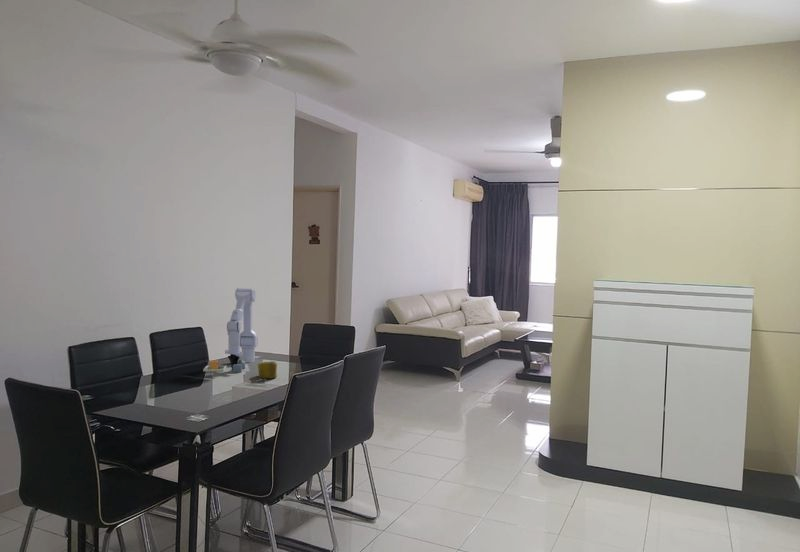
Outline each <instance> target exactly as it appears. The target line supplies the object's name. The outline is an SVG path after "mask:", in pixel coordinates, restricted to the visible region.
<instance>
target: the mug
mask: <svg viewBox="0 0 800 552" xmlns="http://www.w3.org/2000/svg"><path fill="white" fill-rule="evenodd" d="M257 368H258V369H257V371H258V376H259V378H261V380H264V379H265V380H266V379H267V380H268V379H276V378H277V370H278V362H277V361H263V362H262V361H261V362H258V363H257Z"/></svg>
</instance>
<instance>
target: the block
mask: <svg viewBox="0 0 800 552" xmlns="http://www.w3.org/2000/svg"><path fill="white" fill-rule="evenodd" d="M219 363H220V362H219V360H218V359H216V360H215V359H213V360H212V359H211V360H210V361H209V366H210V368H209V369H219V366H220V364H219Z"/></svg>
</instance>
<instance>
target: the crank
mask: <svg viewBox="0 0 800 552" xmlns="http://www.w3.org/2000/svg"><path fill="white" fill-rule="evenodd" d="M245 369H246V363H245V361H242V359H239V360H238V362H237V364H233V369H232V373H242V372H243V370H245Z"/></svg>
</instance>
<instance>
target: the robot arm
mask: <svg viewBox="0 0 800 552" xmlns="http://www.w3.org/2000/svg"><path fill="white" fill-rule="evenodd" d="M234 297H235V300H236V304H235V309H233V311H231V313H232V314H231V316H230V320H229V321H227V322H226V323H227V324H226V331H227V336H228V339H227V340H228V341H227V342H228V349H224V354H226V355H228V356H227V358H228V360H229V362H230V367H231V370H233V364H237V362H238V361H239V360H240V358H241V360H242V361H245V364H246V363H254V362H255V360H256V359H255V356H256V354H255V352H256V350H255V349H256V347H257V346H258V343H259V340H258V334H257V332H256V331H254V330H253V303H254V302H255V301H256V291H255V288H253V287H251V288H246V287H245V288H243V287H242V288H241V287H240V288H239V287H236V288H235V292H234ZM242 320H243V321H242ZM242 322H243V331H241V330H242ZM240 349H241V351H240Z"/></svg>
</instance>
